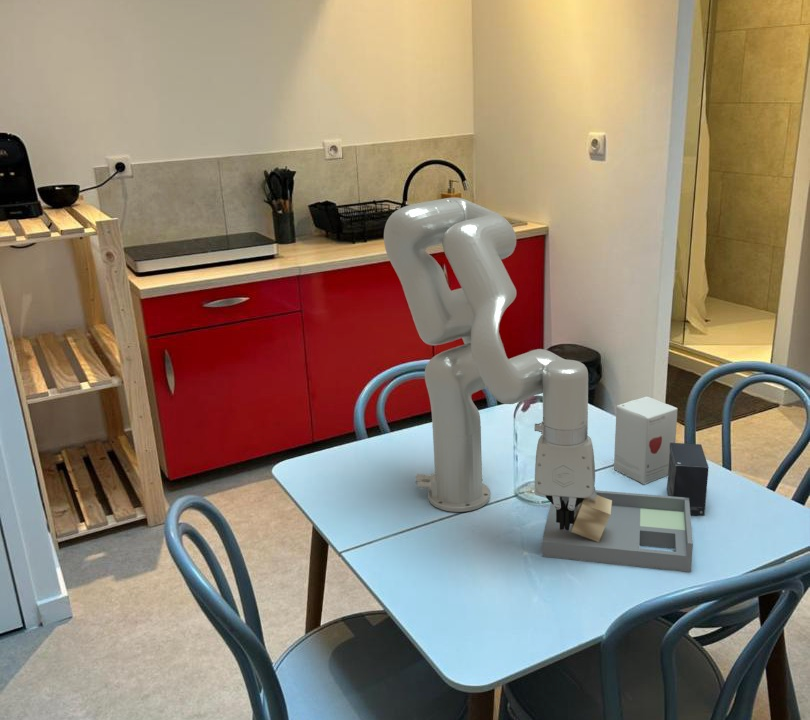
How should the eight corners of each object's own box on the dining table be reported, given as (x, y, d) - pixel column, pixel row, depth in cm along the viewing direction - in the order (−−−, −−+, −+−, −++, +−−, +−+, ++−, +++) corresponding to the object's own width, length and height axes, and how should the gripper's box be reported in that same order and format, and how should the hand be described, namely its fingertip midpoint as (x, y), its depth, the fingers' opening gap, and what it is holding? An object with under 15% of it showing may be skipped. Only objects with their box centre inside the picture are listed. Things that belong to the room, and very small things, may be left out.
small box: (706, 516, 155) (710, 466, 152) (670, 515, 157) (673, 465, 153) (699, 490, 165) (702, 442, 162) (665, 488, 166) (668, 441, 163)
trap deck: (541, 556, 145) (541, 529, 144) (551, 512, 160) (552, 486, 158) (690, 572, 139) (692, 543, 137) (687, 524, 153) (689, 497, 151)
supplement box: (644, 485, 168) (647, 418, 163) (612, 469, 175) (614, 404, 171) (675, 473, 172) (679, 407, 167) (643, 458, 180) (646, 394, 175)
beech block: (571, 531, 144) (582, 503, 142) (573, 517, 149) (584, 490, 146) (598, 542, 143) (610, 514, 141) (600, 527, 148) (611, 500, 146)
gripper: (518, 437, 139) (520, 533, 145) (608, 443, 135) (606, 541, 141) (524, 420, 146) (526, 512, 152) (611, 425, 142) (609, 519, 148)
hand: (565, 525), depth 147 cm, fingers closed
